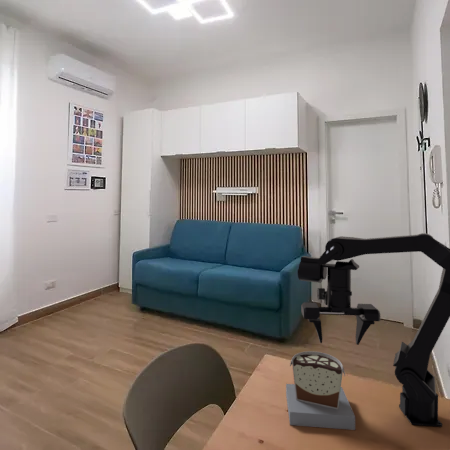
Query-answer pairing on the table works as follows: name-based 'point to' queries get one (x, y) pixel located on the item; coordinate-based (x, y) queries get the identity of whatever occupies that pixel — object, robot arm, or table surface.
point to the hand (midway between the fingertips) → (338, 343)
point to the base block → (319, 412)
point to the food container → (317, 378)
